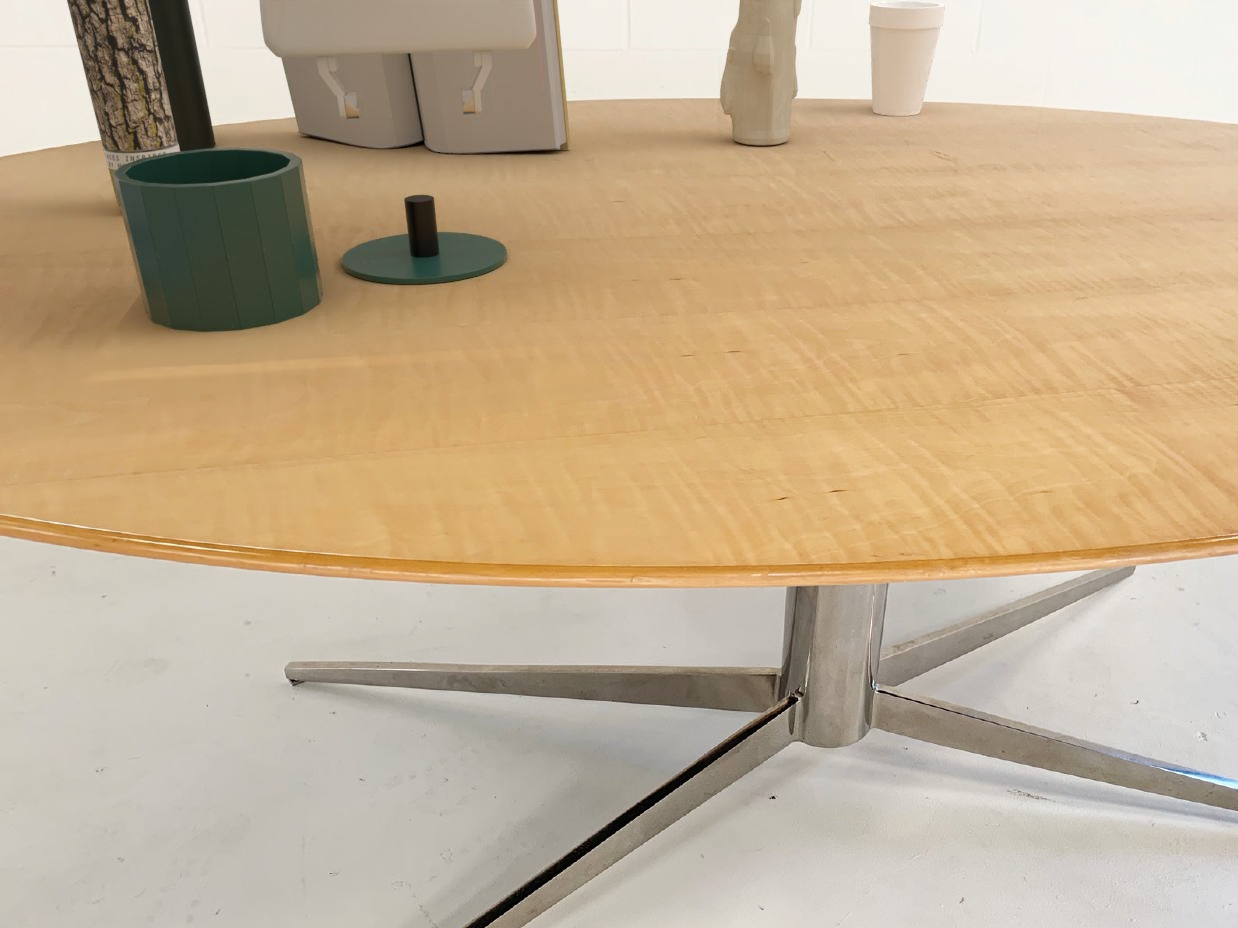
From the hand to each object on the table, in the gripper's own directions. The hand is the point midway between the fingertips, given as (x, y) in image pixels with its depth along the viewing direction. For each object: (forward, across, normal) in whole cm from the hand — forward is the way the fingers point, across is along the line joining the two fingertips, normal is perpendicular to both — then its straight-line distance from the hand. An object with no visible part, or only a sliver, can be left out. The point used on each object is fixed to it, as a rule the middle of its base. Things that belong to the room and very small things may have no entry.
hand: (412, 115), depth 90 cm
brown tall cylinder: (+12, +27, -25) cm, 39 cm away
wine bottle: (+12, +29, -55) cm, 63 cm away
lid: (+11, 0, 0) cm, 11 cm away
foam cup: (+12, -62, -62) cm, 88 cm away
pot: (+12, +14, +9) cm, 21 cm away
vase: (+12, -39, -46) cm, 61 cm away
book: (+12, +1, -51) cm, 52 cm away
